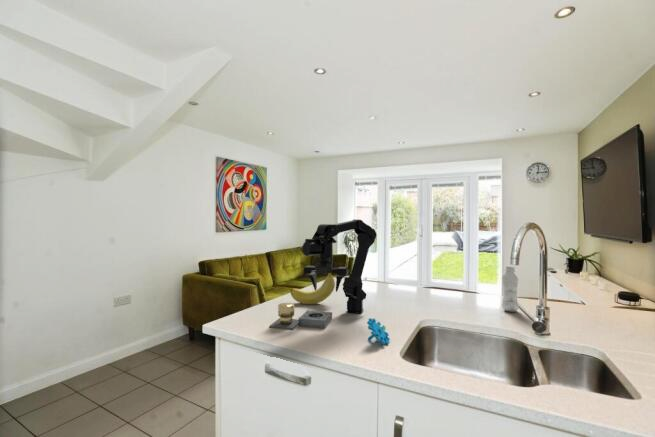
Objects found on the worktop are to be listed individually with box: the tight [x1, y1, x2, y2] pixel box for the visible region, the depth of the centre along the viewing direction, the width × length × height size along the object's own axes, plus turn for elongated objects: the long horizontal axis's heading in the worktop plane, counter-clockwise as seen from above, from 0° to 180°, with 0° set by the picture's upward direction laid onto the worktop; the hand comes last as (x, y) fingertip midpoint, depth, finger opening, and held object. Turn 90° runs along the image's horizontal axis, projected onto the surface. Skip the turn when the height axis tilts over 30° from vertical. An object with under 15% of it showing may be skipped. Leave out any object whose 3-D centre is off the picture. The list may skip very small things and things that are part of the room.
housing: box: [297, 310, 333, 329], centre depth 127 cm, size 11×11×3 cm
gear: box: [366, 318, 391, 345], centre depth 109 cm, size 11×6×10 cm
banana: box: [290, 273, 336, 305], centre depth 155 cm, size 23×6×20 cm, turn 81°
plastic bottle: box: [501, 266, 519, 313], centre depth 142 cm, size 6×7×20 cm
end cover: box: [277, 302, 295, 325], centre depth 125 cm, size 6×6×7 cm
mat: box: [268, 317, 299, 331], centre depth 125 cm, size 10×10×1 cm
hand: (326, 290), depth 131 cm, fingers open, 9 cm apart
